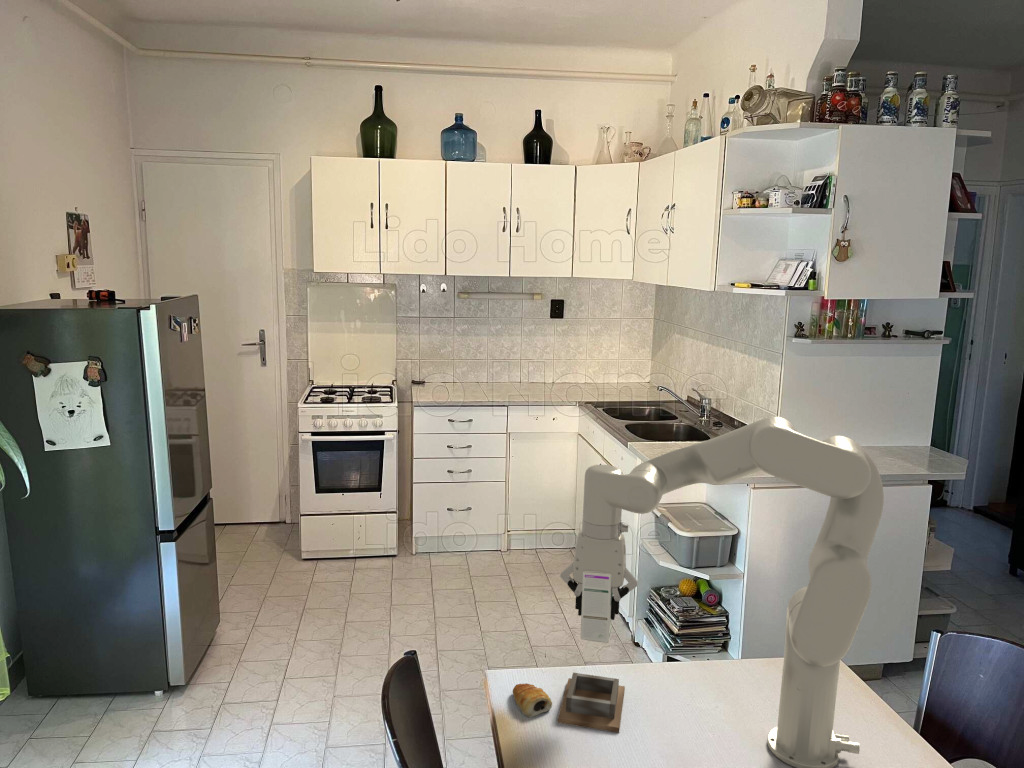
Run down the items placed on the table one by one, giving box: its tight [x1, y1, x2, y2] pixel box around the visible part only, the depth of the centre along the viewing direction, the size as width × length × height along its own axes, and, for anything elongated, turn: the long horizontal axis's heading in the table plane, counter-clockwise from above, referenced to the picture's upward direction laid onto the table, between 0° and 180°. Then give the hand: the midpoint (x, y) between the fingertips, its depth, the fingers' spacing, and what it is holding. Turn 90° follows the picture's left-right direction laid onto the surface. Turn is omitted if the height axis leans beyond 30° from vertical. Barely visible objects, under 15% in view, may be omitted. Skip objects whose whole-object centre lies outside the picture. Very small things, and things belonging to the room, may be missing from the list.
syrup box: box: [580, 571, 613, 644], centre depth 150 cm, size 6×6×14 cm
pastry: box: [512, 683, 553, 718], centre depth 154 cm, size 9×7×4 cm
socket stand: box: [557, 672, 626, 733], centre depth 153 cm, size 12×15×4 cm
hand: (596, 614), depth 151 cm, fingers closed on syrup box, 5 cm apart
